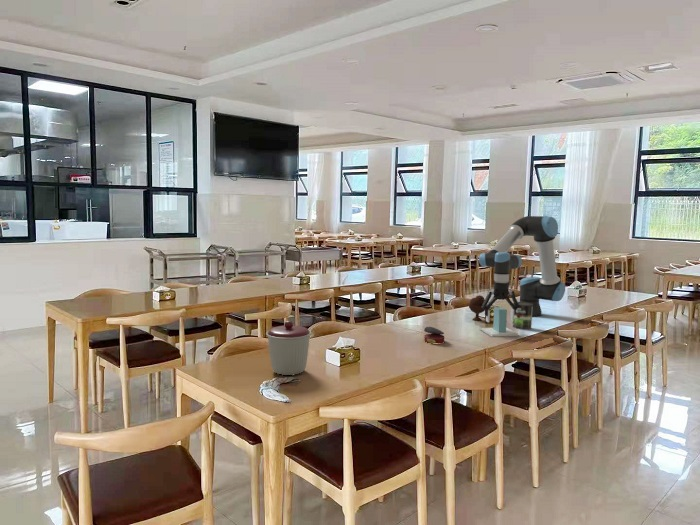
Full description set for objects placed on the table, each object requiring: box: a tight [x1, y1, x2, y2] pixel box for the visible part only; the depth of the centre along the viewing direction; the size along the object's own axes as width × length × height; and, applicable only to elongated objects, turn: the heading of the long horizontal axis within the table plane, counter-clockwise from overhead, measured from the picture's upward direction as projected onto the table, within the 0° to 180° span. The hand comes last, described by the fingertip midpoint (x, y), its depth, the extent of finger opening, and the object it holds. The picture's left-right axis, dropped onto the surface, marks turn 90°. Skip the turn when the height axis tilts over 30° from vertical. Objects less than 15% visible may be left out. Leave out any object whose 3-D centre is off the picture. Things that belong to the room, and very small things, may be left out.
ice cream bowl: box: [467, 294, 485, 322], centre depth 308 cm, size 11×11×15 cm
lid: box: [481, 306, 519, 338], centre depth 274 cm, size 14×14×13 cm
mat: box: [479, 329, 520, 338], centre depth 275 cm, size 16×16×1 cm
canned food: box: [423, 326, 445, 344], centre depth 259 cm, size 11×10×10 cm
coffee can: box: [512, 301, 533, 331], centre depth 288 cm, size 10×10×14 cm
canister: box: [265, 320, 312, 376], centre depth 209 cm, size 18×18×21 cm
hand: (499, 321), depth 274 cm, fingers open, 13 cm apart
